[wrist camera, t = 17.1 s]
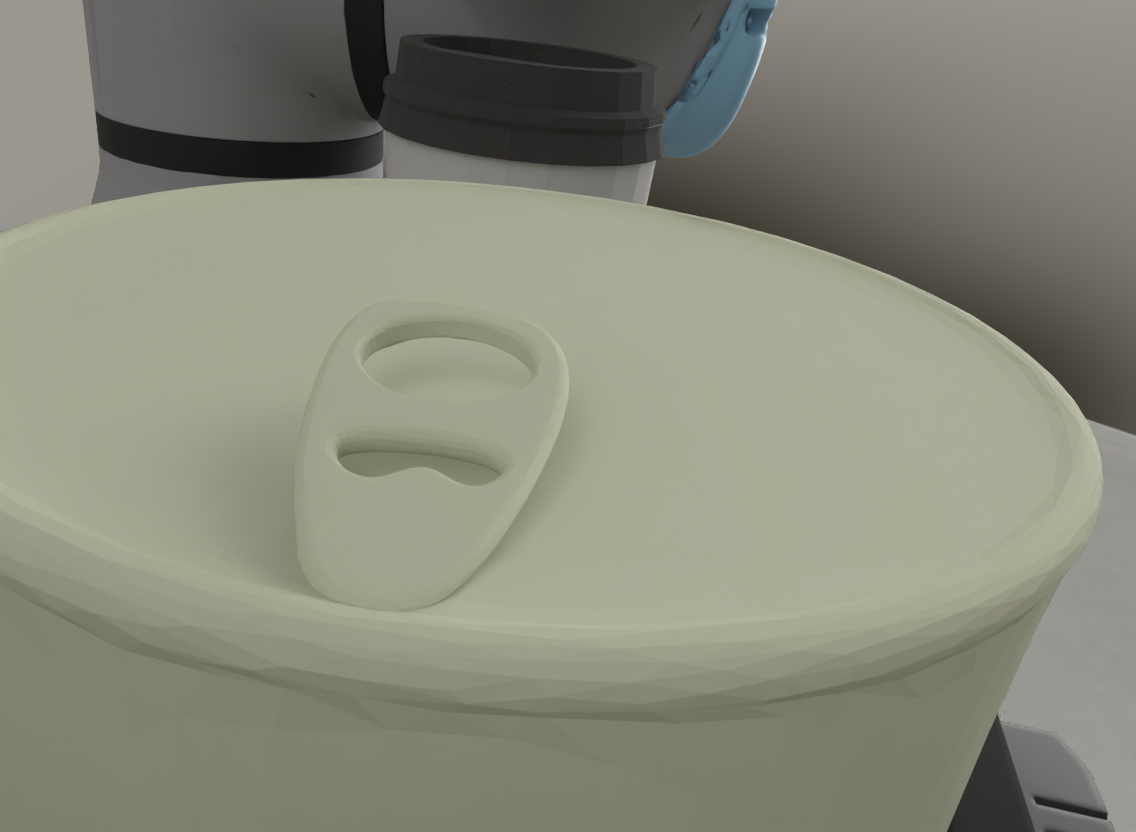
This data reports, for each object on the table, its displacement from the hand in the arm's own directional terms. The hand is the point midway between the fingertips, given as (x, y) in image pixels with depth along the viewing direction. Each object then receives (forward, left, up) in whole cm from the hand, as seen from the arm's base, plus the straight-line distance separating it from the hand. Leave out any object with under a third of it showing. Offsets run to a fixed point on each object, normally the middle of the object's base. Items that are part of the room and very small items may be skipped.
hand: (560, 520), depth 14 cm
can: (+2, -4, -7) cm, 8 cm away
